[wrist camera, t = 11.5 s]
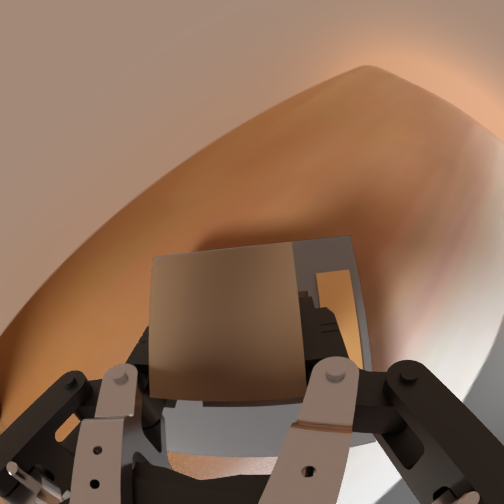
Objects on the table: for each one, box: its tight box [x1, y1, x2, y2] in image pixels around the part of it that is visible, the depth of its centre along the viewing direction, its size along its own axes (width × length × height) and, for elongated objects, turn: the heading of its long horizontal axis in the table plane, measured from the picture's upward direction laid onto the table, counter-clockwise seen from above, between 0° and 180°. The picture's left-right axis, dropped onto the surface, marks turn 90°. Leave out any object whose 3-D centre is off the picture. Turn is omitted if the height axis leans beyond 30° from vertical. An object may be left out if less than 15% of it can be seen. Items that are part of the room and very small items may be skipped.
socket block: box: [156, 235, 376, 457], centre depth 17 cm, size 14×14×4 cm
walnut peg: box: [149, 242, 307, 402], centre depth 11 cm, size 4×4×8 cm
